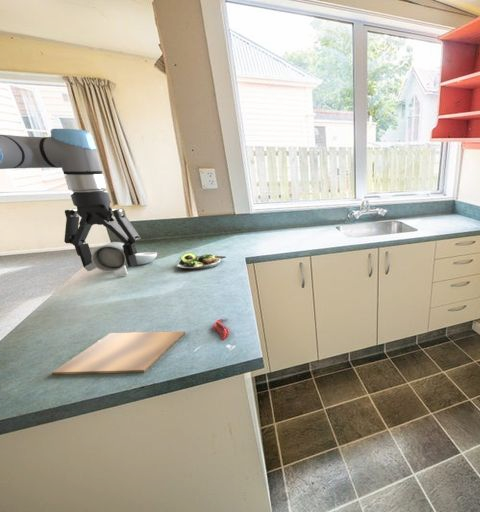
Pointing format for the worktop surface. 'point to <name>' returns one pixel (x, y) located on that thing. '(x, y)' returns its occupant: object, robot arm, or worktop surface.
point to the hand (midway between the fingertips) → (111, 265)
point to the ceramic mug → (108, 258)
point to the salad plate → (198, 261)
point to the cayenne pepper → (221, 329)
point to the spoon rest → (141, 259)
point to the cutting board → (121, 353)
